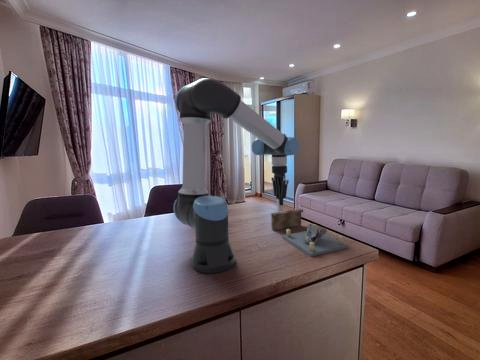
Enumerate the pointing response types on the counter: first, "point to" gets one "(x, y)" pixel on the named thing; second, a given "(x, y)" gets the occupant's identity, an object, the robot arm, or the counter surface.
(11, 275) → the counter surface
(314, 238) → the mineral specimen
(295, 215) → the panel
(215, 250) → the robot arm
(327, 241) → the base
